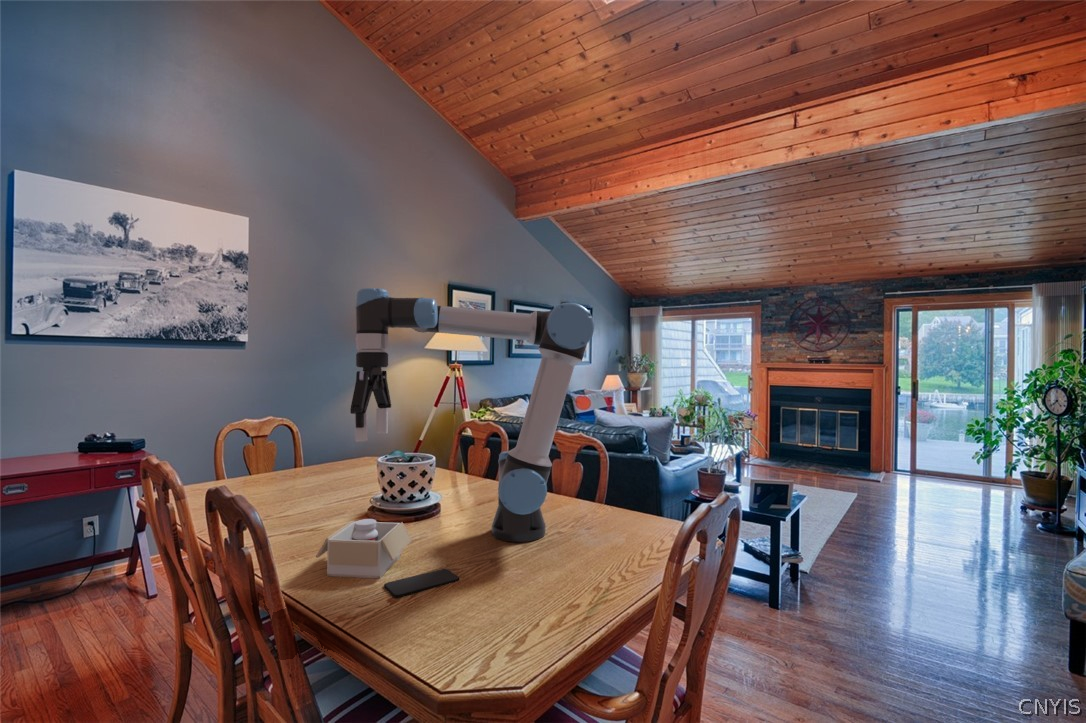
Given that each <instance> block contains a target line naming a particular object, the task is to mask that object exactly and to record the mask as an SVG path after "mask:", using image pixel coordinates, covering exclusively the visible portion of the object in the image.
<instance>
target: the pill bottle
mask: <svg viewBox="0 0 1086 723" xmlns="http://www.w3.org/2000/svg"><path fill="white" fill-rule="evenodd" d="M376 522H377V519H373V518H363V519H359V520H357V521H356V522H355V529H356V531H355V532H354V533H353V535H352V540H370V541H378V532H377V530H376V529H375V527H376Z"/></svg>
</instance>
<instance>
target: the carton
mask: <svg viewBox="0 0 1086 723" xmlns="http://www.w3.org/2000/svg"><path fill="white" fill-rule="evenodd" d="M353 521H354V520H353ZM355 522H356V521H354V522H352V523H351V524H350V525H348V526H347V527H345V528H344V529H343V530H341V531H340V532H338V533H337V534H335V535H334V536H333V537H331V538H330V539H328V551H326V552H327V554H326V555H327V558H326V559H327V560H326V562H327V563H326V569H327V570H326V576H327V577H338V578H341V577H342V578H362V579H363V578H364V579H365V578H366V579H381V578H382V577H383V575H385V573H386V572H387V571H388V570H389V569H390V568H391V567H392V566H393V565H394V564H395V562H396V561H397V560H398V559H400V557H401V555H402V551H401V552H400V553H399V554H398V556H397V557H396V558H395V559H394V560H392V561H391V559H390V557H389V556H388V554H387V552H386V550H385V548H384V546H383V544H382V542H381V540H382V539H383V538H384V537H386V536H387V535H388V534H389V533H390V532H391V531H392V530H393V529H394V528H396V527H397V526H398V525H399V524H400V523H401V522H382V521H381V522H380V521H376V527H375V529H376V530H377V532H378V541H370V540H352V535H353V533H354V532H355V531H356V529H355Z"/></svg>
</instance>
